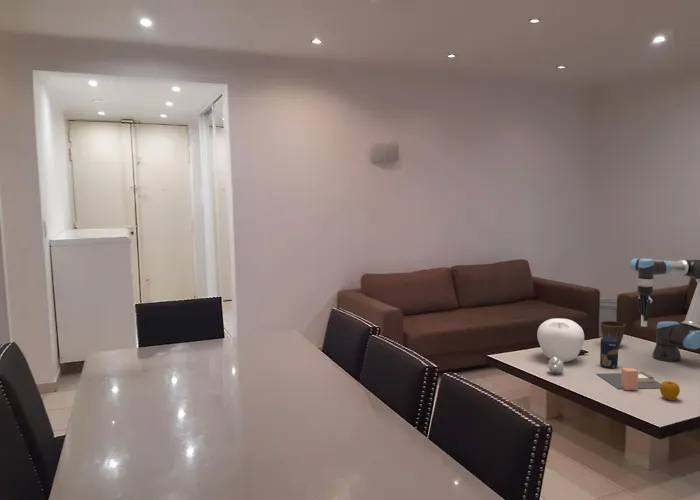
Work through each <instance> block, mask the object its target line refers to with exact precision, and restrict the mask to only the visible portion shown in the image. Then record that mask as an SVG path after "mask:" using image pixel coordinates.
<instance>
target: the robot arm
mask: <svg viewBox="0 0 700 500" xmlns="http://www.w3.org/2000/svg"><path fill="white" fill-rule="evenodd" d="M629 264H630V265H629V266H630V269H631V270H632V271H634V272H635V271H636V272H638V274H637V275H638V276H637V284H638V285H637V292H638V294H639V295H636V299H637V310H638V314H640V327H643V328H644V327H645V328H646V327H648V318H649V317H648V316H651V313H652V309H653V303H654V301H655V300H654V299H652V296H651V294H653V292H654V287H653V286H654V276H656V275H659V276H660V275H668V274H677V275H678V276H683V277H684V276H685V277H689V278H693V279H695V281H696V283H697V285H696V288H695V289H694V293H693V297H692V299H691V301H690V305H689V306H688V307H689V308H688V310H687V313H686V316H685V318H684V320H683V321H681V322H680V323H679V322H678V321H659V322H657V323H656V324H657V325H656V342H655V344H656V345H655V347H654V349H653V351H652V358H653V359H656V360H659V361H662V362H669V363H670V362H671V363H674V362H680V361H681V359H682V355H681V353H680V349H679V346H680V347H683V348H686V349H691V350H697V349H699V348H700V259H678V260H661V259H653V258H633V259H632V260H631V261H630V263H629Z"/></svg>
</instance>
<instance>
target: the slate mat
mask: <svg viewBox="0 0 700 500" xmlns="http://www.w3.org/2000/svg"><path fill="white" fill-rule="evenodd" d="M638 374H641V373H640V372H638ZM596 376H598V377H599V378H601V379H602V380H604V381H605V382H607V383H608V384H610V385H611V386H612V387H614V388H615V389H616V390H625V389H624V388H623V387H621V377H622V372H611V373H607V372H605V373H596ZM660 385H661V383H660V382H659V381H656V380H655V379H654V382H639V383H638V390H656V389H657V390H658V389H659V390H660Z"/></svg>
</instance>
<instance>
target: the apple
mask: <svg viewBox="0 0 700 500" xmlns="http://www.w3.org/2000/svg"><path fill="white" fill-rule="evenodd" d="M660 384H661V385H660V389H659V391H660V394H661V396H662V397H663V399H665V400H667V401H674V400H675V401H676V399H677V398H678V396H679V395H680V392H681V390H680V386H679V384H678V383H677V382H674V381H669V380H668V381H667V380H666V381H665V380H664V381H662V382H661V383H660Z"/></svg>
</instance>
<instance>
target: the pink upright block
mask: <svg viewBox="0 0 700 500" xmlns="http://www.w3.org/2000/svg"><path fill="white" fill-rule="evenodd" d="M621 373H622V377H621V387H623V388H624V389H623V390H625V391H638V390H639V389H638V373H639V370H637V369H635V368H634V367H622V368H621Z"/></svg>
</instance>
